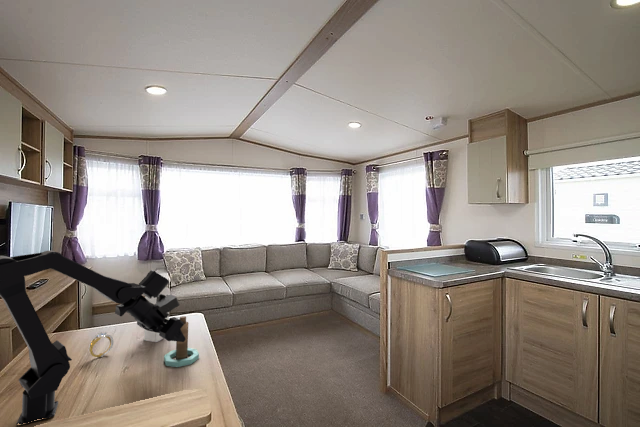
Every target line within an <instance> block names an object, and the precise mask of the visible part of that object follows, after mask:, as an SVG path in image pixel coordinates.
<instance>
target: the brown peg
mask: <svg viewBox="0 0 640 427" xmlns="http://www.w3.org/2000/svg"><path fill="white" fill-rule="evenodd" d="M179 319H180V320H181V321H183V322H184V325H183V326H182V328H181V331H182V333H183V335H184V337H185V338H186V340H185V341H184V342H178V341H175V344H176V346H175V347H176V348H175V350H176V356H175V360H181V359H186V358H188V355H187V351H188V348H189V345H188V344H189V321H187V316H185V315H184V316H180V317H179Z"/></svg>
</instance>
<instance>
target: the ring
mask: <svg viewBox="0 0 640 427" xmlns="http://www.w3.org/2000/svg"><path fill="white" fill-rule="evenodd" d="M103 338H106V339H108V340H109V346H108V348H107V349H106V350H105V351H104V352H100V353H99V354H97V353H96V354H95V353H94V352H93V349H94V347H95V345H96V344H97V343H98V342H99V341H100V340H101V339H103ZM113 346H114V339H113V336H112V335H111V334H107V331H105V332H103V333H102V331H101V332H99V333H98V334H96V335H95V336H93V338H92V339H91V340H90V342H89V345H88V352H89V354H90V356H92V357H94V358H103V357H104V356H106V355H107V354H108V353H109V352H111V350H112V348H113Z"/></svg>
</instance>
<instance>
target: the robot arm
mask: <svg viewBox="0 0 640 427" xmlns="http://www.w3.org/2000/svg"><path fill="white" fill-rule="evenodd" d="M50 269H51V270H53V271H55V272H58V273H60V274H62V275H65V276H66V277H69V278H71V279H73V280H75V281H77V282H79V283H82V284H84V285H86V286H89V287H90V288H92V289H93V290H95V291H96V292H97V293H98V294H100V295H101V296H102V297H104V298H105V299H107V300H109V301H111V302H114V303H115V304H117V305H115V312H114V314H115V315H117V316H118V317H123V316H124V315H125V314H126V313H127V314H128V315H130V316H131V317H132V318H134V320H135V321H136V325H137V326H139V327H140V328H142V329H143V330H144V329H146V330H148V331H152V332H157V333H159V336H161V337H162V338H164V340H165V341H168V342H176V341H178V342H184V341H185V340H186V338H185V337H184V335H183V333H182V331H181V328H182V326H183V325H184V322H183V321H181V320H180V318H177V317H175V316H174V317H173V316H172V317H170V318H169V320H167V319H165V318H167V317H168V315H169V316H170V312H172V310H174V309H175V308H178V307H179V306H180V302H179V300H178V297H177V296H176V295H173V294H169V295H166V296H165V295H163V294H160V293H161V292H162V291H163V289H164V288H165V287H167V286H168V285H169V284H170V281H169V279H168V278H166V277H164V276H163V275H161V274H160V273H159V272H156V270H151V269H150V271H149V272H148V273H147V274H146V276H145V277H144V278H143V279H141V281H140V282H139V283H135V282H126V281H123V280H121V279H120V280H119V279H117V278H113V277H110V276H106V275H103V274H101V273H98V272H96V271H94V270H93V269H91V268H89V267H86V266H84V265H82V264H80V263H78V262H76V261H74V260H72V259H71V258H68V257H66V256H64V255H63V254H61V253H60V252H59V251H54V250H45V251H41V252H36V253H29V254H21V255H15V256H14V255H13V256H6V255H0V298H1V299H2V300H3V302H4V304H5V307H6V308H7V310H8V312H9V314H10V316H11V318H12V320H13V322H14V324H15V325H16V327H17V330H18V331H19V333H20V335H21V336H22V339H23V340H24V342H25V344H26V346H27V348H28V357H29V363H30V368H28V369H27V370H26V371H25V372H24V373H23V375H21V376H20V378H18V381H19V382H18V383H19V384H20V385H21V387H22V388H23V389H24V390H23V391H22V402H21V414H20V416H19V417H18V419H17V421H16V424H18V423H19V424H23V423H28V422H31V421H34V420H37V419H42V418H48V419H50V418H49V417H52V418H53V416H54V417H55V414H56V411H57V408H58V407H59V406H58V405H59V401H58V400H56V391H57V390H59V387H60V385H61V382H62V380H63V378H64V377H66V375H67V374H68V372H69V371H70V369H71V364H70V362H72V360H73V359H72V357H70V356H69V355H68V351H67V348H66V346H65V345H64V344H63V343H62V342H60V340H55V341H54V342H52V341H51V339H50V336H49V335H48V334H47V331H46V329H45V327H44V325H43V323H42V321H41V319H40V317H39V316H38V315H39V314H37V312H36V309H35V307H34V305H33V303H32V302H31V299H30V298H29V295H28V293H27V288H26V287H27V286H26V278H25V277H26V276H27V277H28V276H31V275H34V274H38V273H40V272H43V271H47V270H50ZM145 296H146V297H148V298H150V299H151V298H152V297H154V298H156V297H157V300H156V304H153V303H151V302H149V301H148V300H147V299H146V298H145ZM168 312H169V314H168ZM164 322H165V323H164ZM55 400H56V401H55ZM28 424H29V423H28Z"/></svg>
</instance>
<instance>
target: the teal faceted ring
mask: <svg viewBox="0 0 640 427" xmlns="http://www.w3.org/2000/svg"><path fill="white" fill-rule="evenodd" d="M187 356H189V357H187V358H186V359H181V360H176V349H173V350H171V351H169V352H167V353H166V354H164V358H163V361H164V364H165V366H167V367H172V368H173V367H175V368H179V367H184V366H190V365H192V364H193V363H194V362H196V361H197V360H198V359H200V353H199V352H198V350H197V348H191V347H188V351H187ZM173 358H174V359H173Z"/></svg>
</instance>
